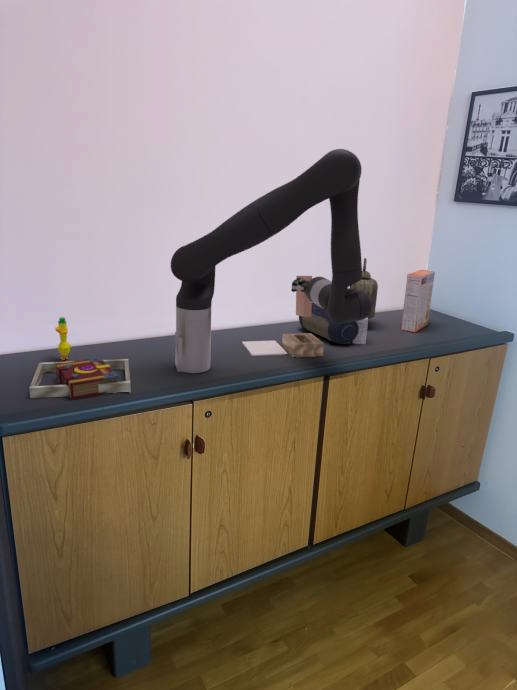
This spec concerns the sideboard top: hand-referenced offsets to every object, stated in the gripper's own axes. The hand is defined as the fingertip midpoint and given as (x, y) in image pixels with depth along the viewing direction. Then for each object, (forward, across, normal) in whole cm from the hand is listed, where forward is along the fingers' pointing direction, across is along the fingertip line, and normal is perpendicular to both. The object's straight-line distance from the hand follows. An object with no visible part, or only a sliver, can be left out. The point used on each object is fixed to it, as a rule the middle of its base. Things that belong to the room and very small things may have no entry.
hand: (302, 281), depth 154 cm
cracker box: (+17, -52, +21) cm, 59 cm away
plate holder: (-4, 0, +21) cm, 21 cm away
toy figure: (-2, +69, +22) cm, 72 cm away
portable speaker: (+10, -14, +21) cm, 27 cm away
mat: (0, +11, +21) cm, 24 cm away
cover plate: (-3, 0, +10) cm, 11 cm away
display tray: (-20, +63, +22) cm, 69 cm away
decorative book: (-22, +62, +22) cm, 69 cm away
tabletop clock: (+22, -32, +21) cm, 44 cm away
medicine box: (+4, -23, +21) cm, 32 cm away
